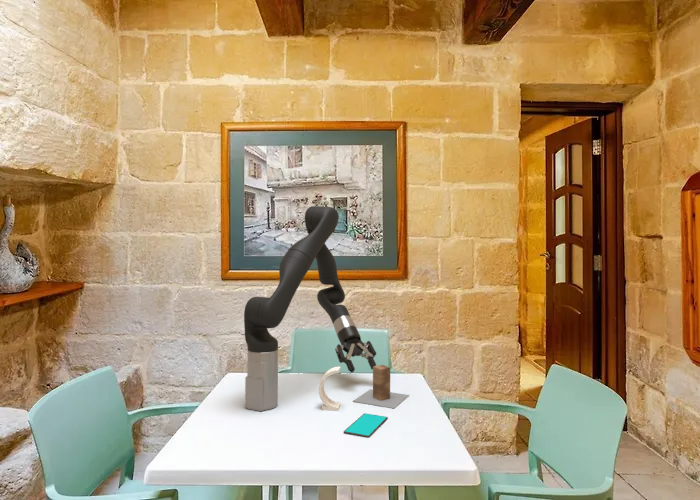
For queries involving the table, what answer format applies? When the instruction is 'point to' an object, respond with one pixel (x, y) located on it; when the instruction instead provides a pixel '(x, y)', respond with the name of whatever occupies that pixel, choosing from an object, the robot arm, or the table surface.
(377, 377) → the walnut block
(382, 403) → the mat
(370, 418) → the smartphone
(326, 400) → the headphone stand
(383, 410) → the table surface
